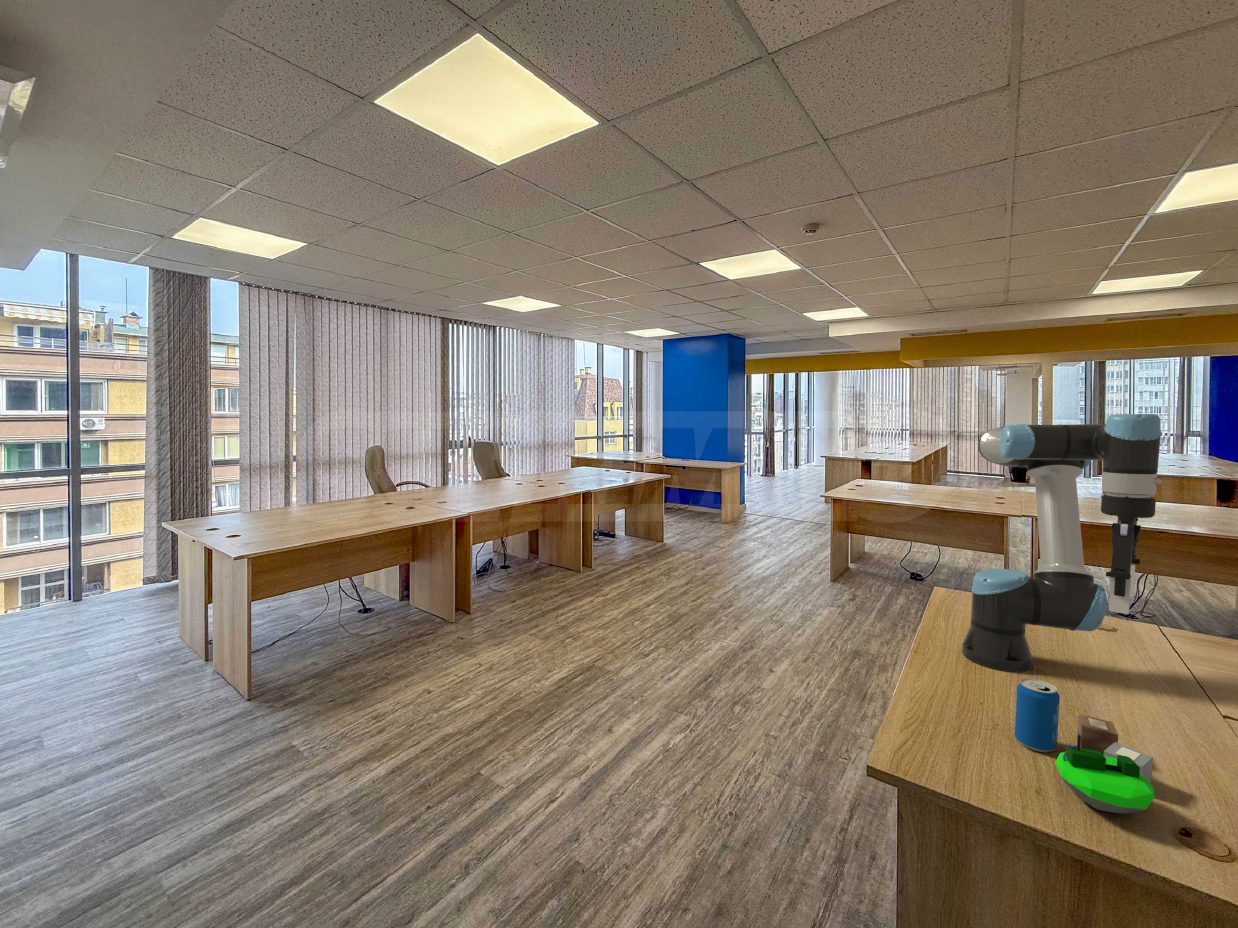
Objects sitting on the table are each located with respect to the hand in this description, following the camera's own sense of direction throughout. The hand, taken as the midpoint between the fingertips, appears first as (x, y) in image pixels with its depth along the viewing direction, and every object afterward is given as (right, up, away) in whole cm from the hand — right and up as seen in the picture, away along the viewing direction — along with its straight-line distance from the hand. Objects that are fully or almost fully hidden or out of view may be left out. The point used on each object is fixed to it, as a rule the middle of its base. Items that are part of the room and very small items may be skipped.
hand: (1121, 603), depth 103 cm
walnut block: (-6, -28, -1) cm, 28 cm away
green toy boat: (-18, -29, -16) cm, 38 cm away
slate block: (-9, -28, -10) cm, 31 cm away
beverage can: (-17, -28, 0) cm, 32 cm away
